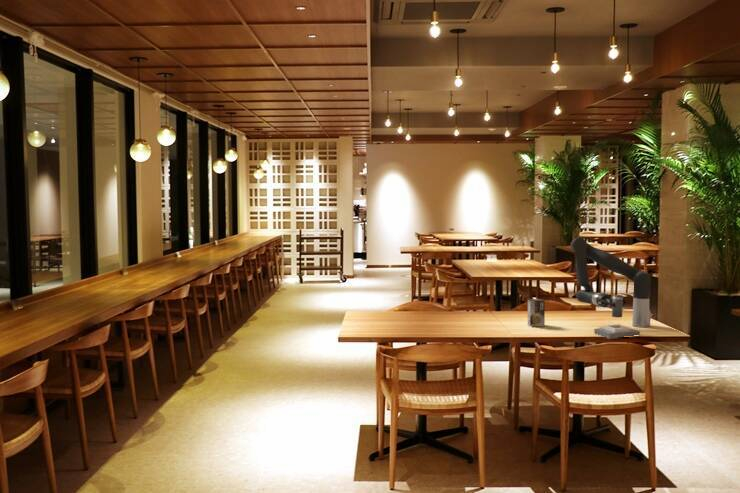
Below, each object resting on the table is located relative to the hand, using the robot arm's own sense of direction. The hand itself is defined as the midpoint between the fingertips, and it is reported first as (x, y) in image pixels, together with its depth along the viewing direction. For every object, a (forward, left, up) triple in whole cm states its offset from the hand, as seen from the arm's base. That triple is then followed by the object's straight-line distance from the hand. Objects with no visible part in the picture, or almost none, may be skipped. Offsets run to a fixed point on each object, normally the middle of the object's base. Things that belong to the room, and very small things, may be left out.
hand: (619, 304), depth 393 cm
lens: (0, -2, -7) cm, 7 cm away
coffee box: (+30, -39, -18) cm, 53 cm away
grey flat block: (0, -1, -18) cm, 18 cm away
